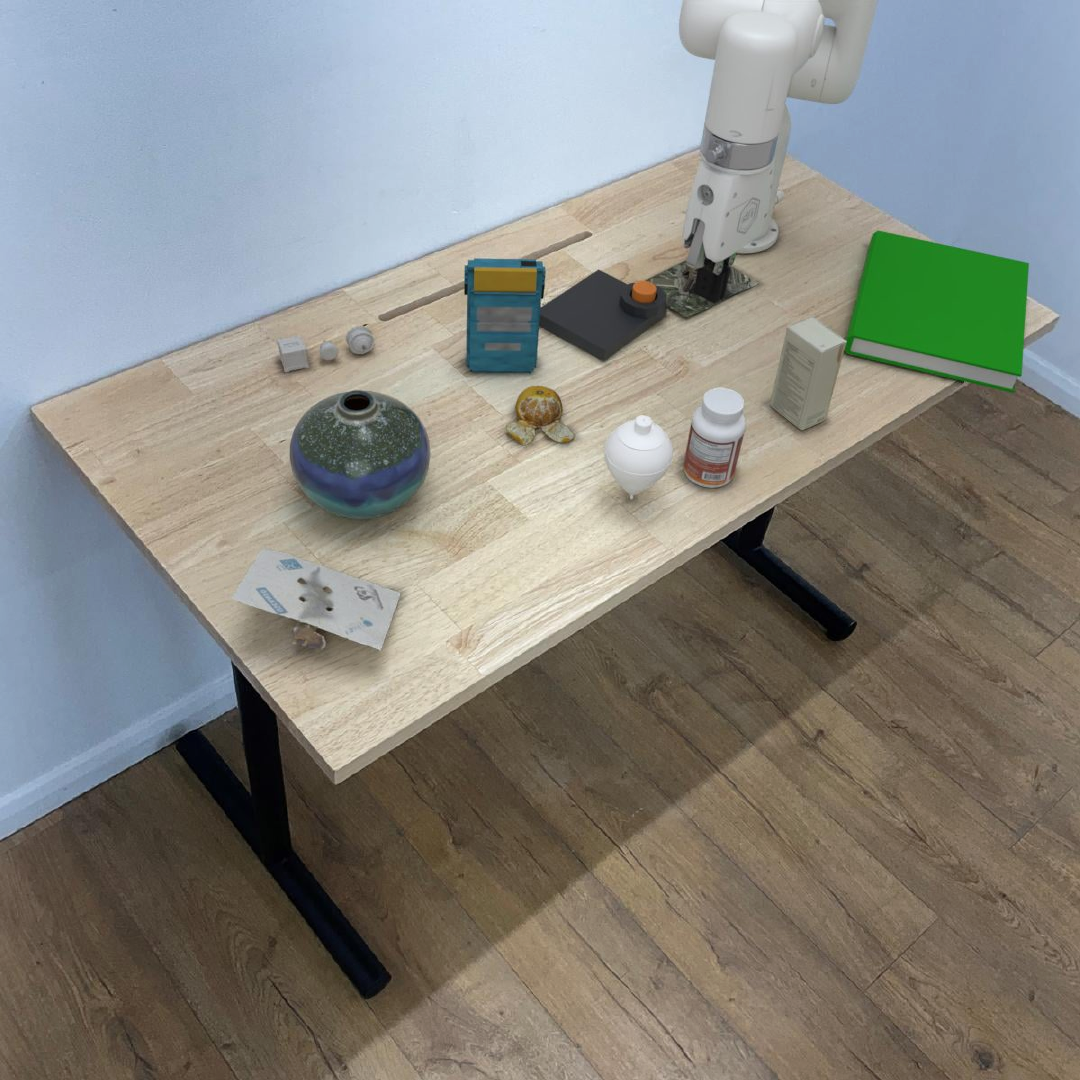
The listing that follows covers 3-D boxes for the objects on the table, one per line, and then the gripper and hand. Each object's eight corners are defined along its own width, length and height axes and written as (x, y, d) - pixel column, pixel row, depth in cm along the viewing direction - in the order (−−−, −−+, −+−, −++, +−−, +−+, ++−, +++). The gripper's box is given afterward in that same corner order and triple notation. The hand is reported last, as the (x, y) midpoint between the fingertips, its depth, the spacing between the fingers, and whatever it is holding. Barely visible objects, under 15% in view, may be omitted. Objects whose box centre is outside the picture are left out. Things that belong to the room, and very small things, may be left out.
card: (367, 687, 115) (381, 647, 113) (219, 638, 114) (231, 596, 112) (388, 629, 126) (401, 591, 123) (252, 583, 124) (264, 544, 122)
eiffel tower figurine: (706, 252, 172) (721, 169, 162) (758, 284, 167) (777, 200, 157) (634, 288, 165) (646, 203, 155) (687, 322, 160) (702, 237, 150)
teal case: (538, 356, 153) (545, 257, 142) (539, 376, 150) (547, 277, 139) (463, 355, 152) (464, 256, 141) (463, 375, 149) (464, 276, 138)
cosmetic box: (826, 421, 147) (850, 342, 138) (800, 432, 145) (823, 353, 136) (791, 392, 150) (813, 314, 142) (766, 403, 149) (786, 324, 140)
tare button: (640, 287, 159) (642, 277, 158) (659, 297, 158) (661, 287, 157) (626, 297, 157) (628, 287, 156) (645, 307, 156) (647, 297, 155)
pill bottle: (708, 447, 142) (723, 375, 134) (744, 475, 139) (762, 404, 131) (671, 467, 139) (685, 395, 131) (707, 497, 136) (724, 425, 128)
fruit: (507, 445, 140) (508, 421, 138) (503, 400, 146) (504, 377, 143) (575, 444, 141) (578, 421, 139) (568, 399, 147) (571, 376, 144)
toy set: (282, 354, 145) (275, 336, 147) (285, 375, 147) (279, 358, 149) (376, 335, 148) (368, 318, 150) (377, 356, 151) (369, 339, 153)
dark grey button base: (599, 279, 166) (602, 257, 163) (671, 316, 160) (675, 294, 158) (533, 323, 158) (534, 301, 155) (607, 363, 152) (609, 341, 150)
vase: (356, 562, 126) (348, 472, 116) (266, 489, 133) (252, 399, 123) (459, 493, 134) (459, 403, 124) (369, 428, 141) (364, 338, 131)
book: (1021, 280, 171) (1028, 262, 169) (1013, 393, 152) (1021, 374, 150) (868, 247, 175) (874, 229, 173) (842, 352, 156) (848, 334, 154)
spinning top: (587, 506, 134) (596, 427, 125) (615, 467, 139) (626, 388, 130) (647, 531, 132) (662, 452, 123) (674, 490, 137) (689, 412, 128)
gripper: (727, 183, 113) (697, 338, 126) (808, 132, 121) (772, 283, 135) (665, 155, 116) (642, 309, 129) (748, 107, 124) (718, 257, 138)
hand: (708, 295), depth 132 cm, fingers closed
